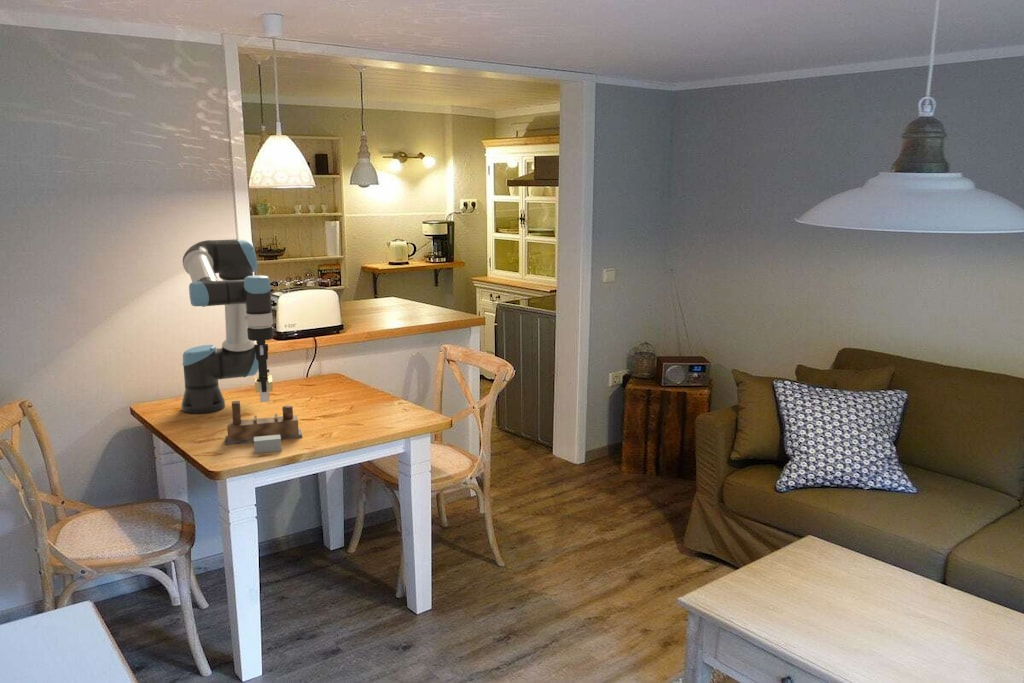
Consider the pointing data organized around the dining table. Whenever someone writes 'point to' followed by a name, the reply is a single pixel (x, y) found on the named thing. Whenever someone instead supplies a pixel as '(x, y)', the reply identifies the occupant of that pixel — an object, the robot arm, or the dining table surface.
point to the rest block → (267, 443)
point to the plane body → (261, 426)
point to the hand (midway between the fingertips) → (264, 397)
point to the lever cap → (268, 383)
